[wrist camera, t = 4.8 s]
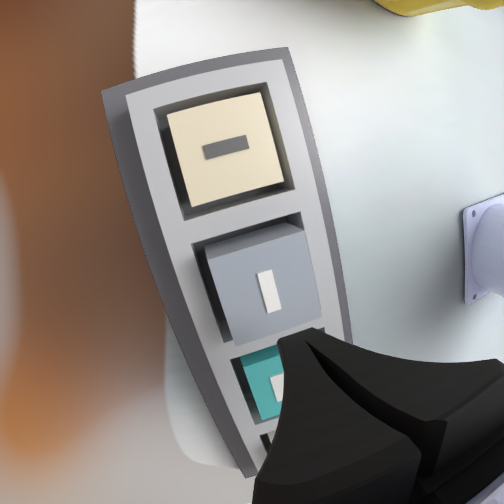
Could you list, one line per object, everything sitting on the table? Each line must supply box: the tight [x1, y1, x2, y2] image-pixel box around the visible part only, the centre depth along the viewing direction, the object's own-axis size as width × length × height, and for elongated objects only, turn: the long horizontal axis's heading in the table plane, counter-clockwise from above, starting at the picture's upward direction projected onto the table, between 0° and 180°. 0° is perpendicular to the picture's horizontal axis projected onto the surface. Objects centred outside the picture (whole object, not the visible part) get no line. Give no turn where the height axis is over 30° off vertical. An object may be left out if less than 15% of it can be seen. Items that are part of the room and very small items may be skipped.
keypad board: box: [101, 47, 353, 478], centre depth 17 cm, size 10×28×3 cm, turn 15°
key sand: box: [167, 92, 284, 207], centre depth 14 cm, size 4×4×3 cm
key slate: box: [204, 222, 322, 346], centre depth 14 cm, size 4×4×3 cm
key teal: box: [240, 344, 284, 420], centre depth 17 cm, size 4×4×3 cm
